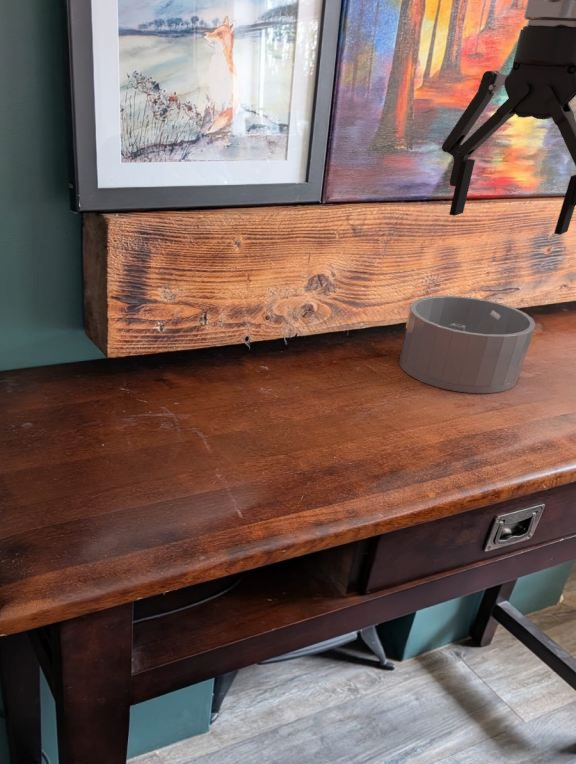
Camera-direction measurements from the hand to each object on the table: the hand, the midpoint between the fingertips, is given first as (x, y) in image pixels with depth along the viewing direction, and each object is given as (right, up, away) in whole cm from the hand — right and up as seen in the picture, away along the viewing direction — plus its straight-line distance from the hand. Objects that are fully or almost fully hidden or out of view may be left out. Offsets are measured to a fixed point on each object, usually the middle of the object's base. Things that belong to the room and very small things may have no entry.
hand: (506, 223), depth 95 cm
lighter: (-2, -16, +10) cm, 19 cm away
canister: (-2, -17, +11) cm, 20 cm away
